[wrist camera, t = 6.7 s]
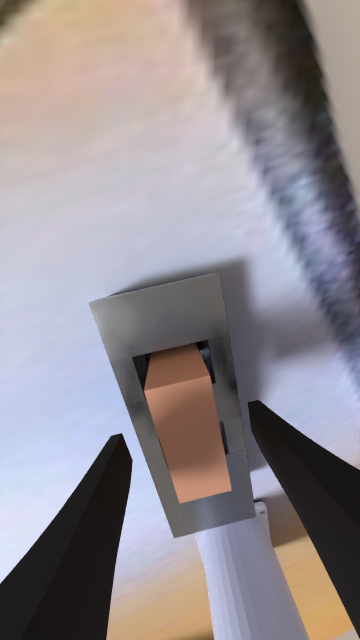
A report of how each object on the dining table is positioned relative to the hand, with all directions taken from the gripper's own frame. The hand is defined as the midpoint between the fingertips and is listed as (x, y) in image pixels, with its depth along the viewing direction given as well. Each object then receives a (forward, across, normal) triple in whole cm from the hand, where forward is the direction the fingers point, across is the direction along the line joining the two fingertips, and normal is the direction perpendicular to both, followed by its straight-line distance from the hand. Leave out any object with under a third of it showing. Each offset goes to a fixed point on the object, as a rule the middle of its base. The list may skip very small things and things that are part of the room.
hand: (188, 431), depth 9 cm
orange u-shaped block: (+4, 0, 0) cm, 5 cm away
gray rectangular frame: (+4, 0, +2) cm, 5 cm away
